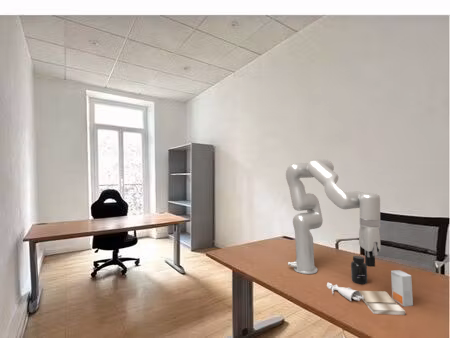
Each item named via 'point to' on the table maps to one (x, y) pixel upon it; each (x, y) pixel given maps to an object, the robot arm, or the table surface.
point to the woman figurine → (346, 292)
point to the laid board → (386, 308)
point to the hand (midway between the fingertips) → (370, 265)
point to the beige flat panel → (376, 297)
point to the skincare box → (402, 288)
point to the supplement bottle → (359, 270)
